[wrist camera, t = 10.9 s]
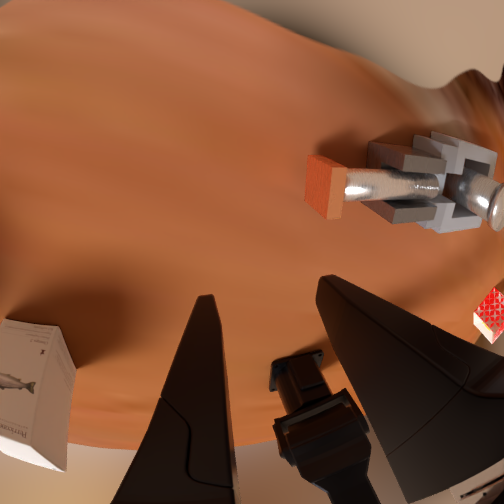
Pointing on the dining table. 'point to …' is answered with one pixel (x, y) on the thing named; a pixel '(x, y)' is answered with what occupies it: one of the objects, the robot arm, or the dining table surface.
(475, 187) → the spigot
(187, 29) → the dining table surface
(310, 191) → the lock pin
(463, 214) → the socket
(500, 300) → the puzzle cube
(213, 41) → the dining table surface
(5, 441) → the supplement box
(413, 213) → the pin mount
